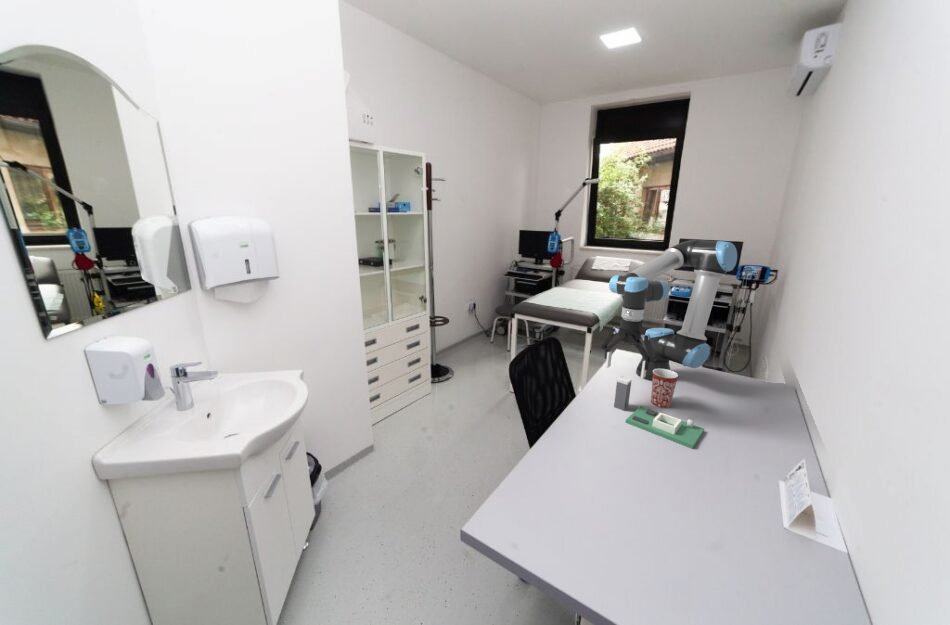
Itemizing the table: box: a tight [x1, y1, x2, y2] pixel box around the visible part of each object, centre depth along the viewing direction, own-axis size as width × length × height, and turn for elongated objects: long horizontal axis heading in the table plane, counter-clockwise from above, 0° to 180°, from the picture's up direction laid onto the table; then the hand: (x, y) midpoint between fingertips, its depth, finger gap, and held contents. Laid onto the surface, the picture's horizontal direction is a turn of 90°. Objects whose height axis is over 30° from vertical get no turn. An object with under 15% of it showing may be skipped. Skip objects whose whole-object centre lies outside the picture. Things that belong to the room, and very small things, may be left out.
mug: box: [650, 369, 679, 409], centre depth 147 cm, size 13×9×14 cm
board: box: [625, 405, 705, 449], centre depth 131 cm, size 14×22×4 cm, turn 46°
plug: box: [613, 375, 633, 411], centre depth 143 cm, size 4×4×12 cm
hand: (624, 372), depth 141 cm, fingers open, 13 cm apart
